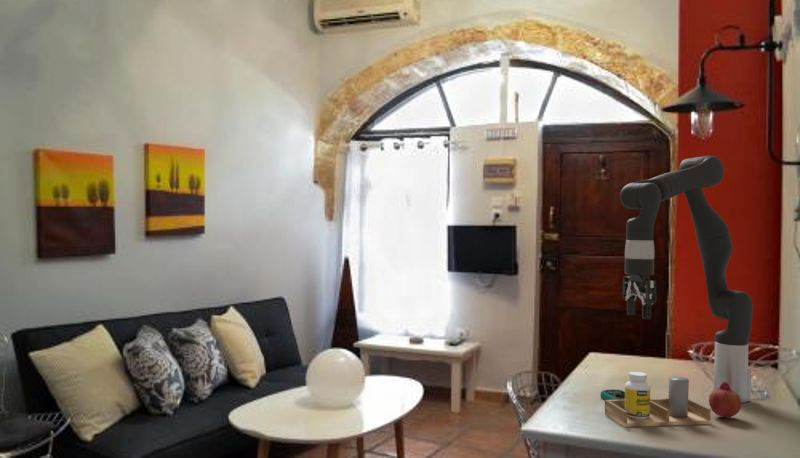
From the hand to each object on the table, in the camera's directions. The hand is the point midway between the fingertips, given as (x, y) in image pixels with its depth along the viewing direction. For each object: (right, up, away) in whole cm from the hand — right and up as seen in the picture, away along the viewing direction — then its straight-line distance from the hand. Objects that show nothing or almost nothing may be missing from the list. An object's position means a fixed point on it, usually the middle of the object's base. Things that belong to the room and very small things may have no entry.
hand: (638, 316), depth 183 cm
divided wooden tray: (+6, -28, +2) cm, 29 cm away
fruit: (+25, -29, +3) cm, 38 cm away
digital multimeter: (+1, -29, +17) cm, 33 cm away
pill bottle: (0, -27, +1) cm, 27 cm away
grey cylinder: (+11, -27, +2) cm, 29 cm away
